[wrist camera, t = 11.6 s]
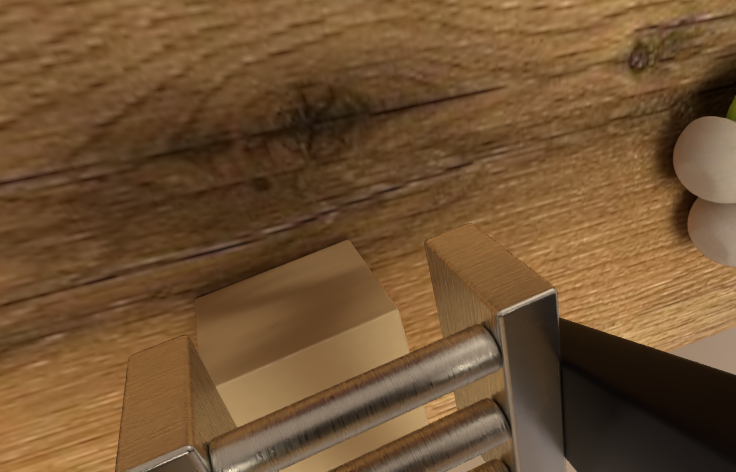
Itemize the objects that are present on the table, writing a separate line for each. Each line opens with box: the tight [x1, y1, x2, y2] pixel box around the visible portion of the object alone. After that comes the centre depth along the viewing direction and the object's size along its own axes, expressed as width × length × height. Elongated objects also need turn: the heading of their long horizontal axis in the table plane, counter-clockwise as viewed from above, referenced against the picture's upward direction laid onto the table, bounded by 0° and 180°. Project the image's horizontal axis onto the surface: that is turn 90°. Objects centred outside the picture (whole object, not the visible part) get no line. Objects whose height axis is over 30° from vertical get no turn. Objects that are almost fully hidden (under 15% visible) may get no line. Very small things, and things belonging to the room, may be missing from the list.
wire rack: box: [115, 223, 566, 472], centre depth 7 cm, size 5×4×2 cm
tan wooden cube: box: [194, 240, 429, 472], centre depth 18 cm, size 6×6×5 cm
